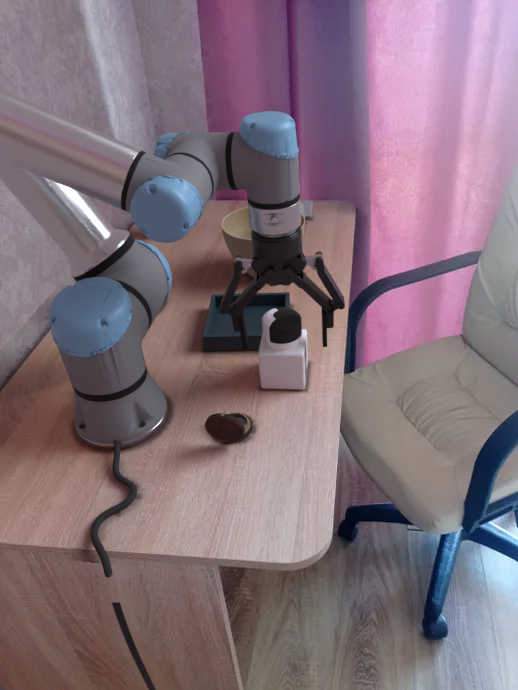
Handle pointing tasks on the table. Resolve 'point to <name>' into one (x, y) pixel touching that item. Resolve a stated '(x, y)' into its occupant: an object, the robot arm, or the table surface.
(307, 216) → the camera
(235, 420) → the compass
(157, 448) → the table surface
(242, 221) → the flower pot
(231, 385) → the table surface
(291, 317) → the container
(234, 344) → the tray
